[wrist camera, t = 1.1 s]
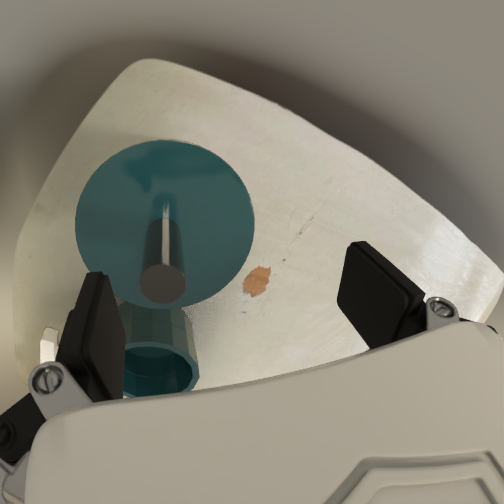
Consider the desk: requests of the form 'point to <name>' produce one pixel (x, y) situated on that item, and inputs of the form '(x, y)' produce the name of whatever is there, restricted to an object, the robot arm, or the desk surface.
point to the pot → (157, 351)
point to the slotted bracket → (48, 345)
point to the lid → (165, 223)
